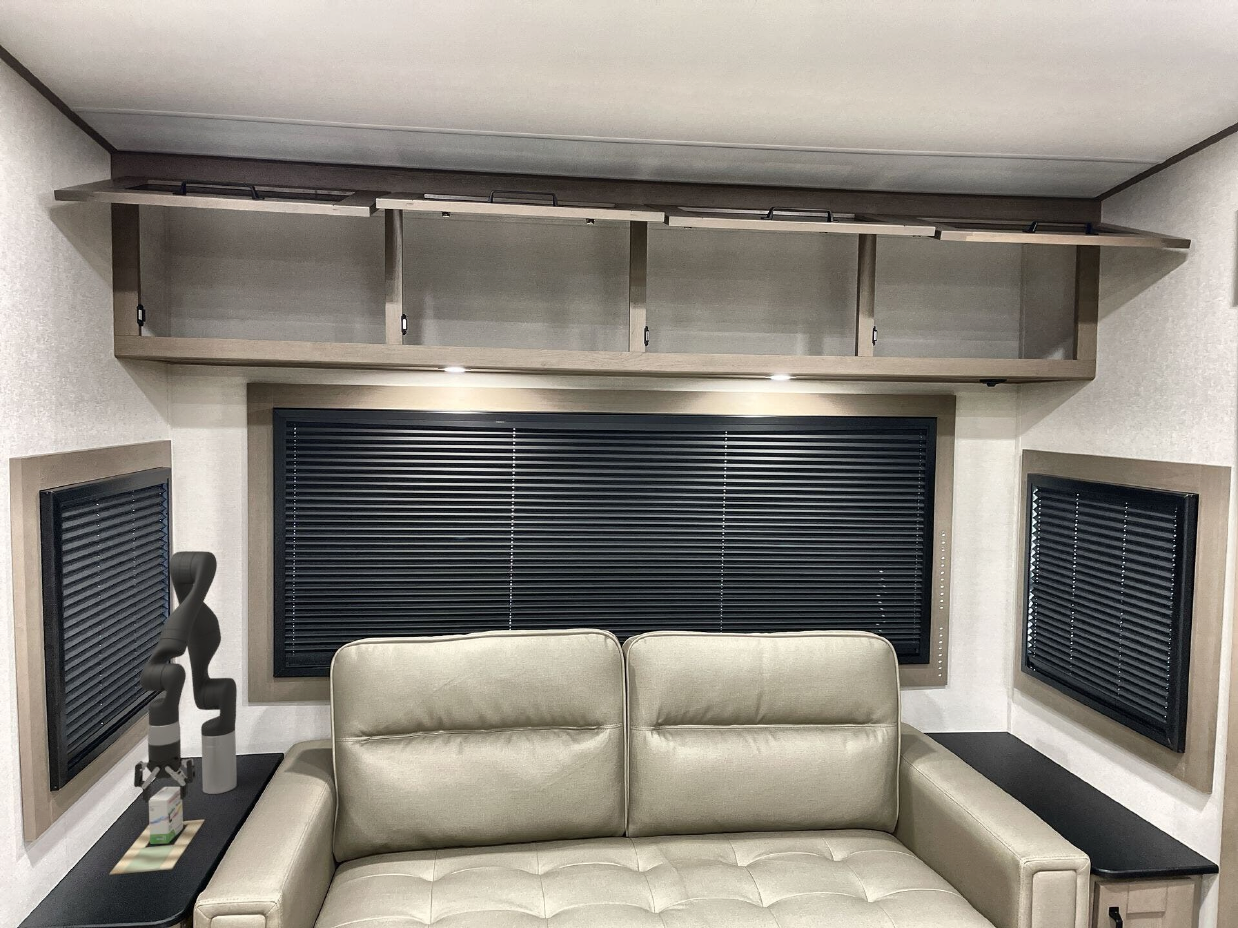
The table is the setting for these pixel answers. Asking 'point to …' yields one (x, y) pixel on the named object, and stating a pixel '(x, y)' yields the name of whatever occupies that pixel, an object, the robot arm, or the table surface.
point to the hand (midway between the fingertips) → (165, 799)
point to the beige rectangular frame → (155, 852)
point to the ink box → (165, 815)
